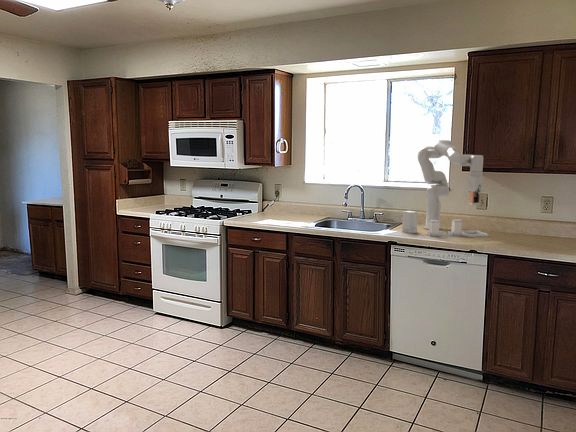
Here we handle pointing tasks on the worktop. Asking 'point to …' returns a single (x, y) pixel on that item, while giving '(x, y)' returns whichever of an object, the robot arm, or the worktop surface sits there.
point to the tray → (474, 234)
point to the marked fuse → (472, 198)
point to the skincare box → (409, 222)
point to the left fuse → (434, 227)
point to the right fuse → (456, 227)
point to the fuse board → (450, 234)
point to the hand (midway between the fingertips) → (474, 201)
